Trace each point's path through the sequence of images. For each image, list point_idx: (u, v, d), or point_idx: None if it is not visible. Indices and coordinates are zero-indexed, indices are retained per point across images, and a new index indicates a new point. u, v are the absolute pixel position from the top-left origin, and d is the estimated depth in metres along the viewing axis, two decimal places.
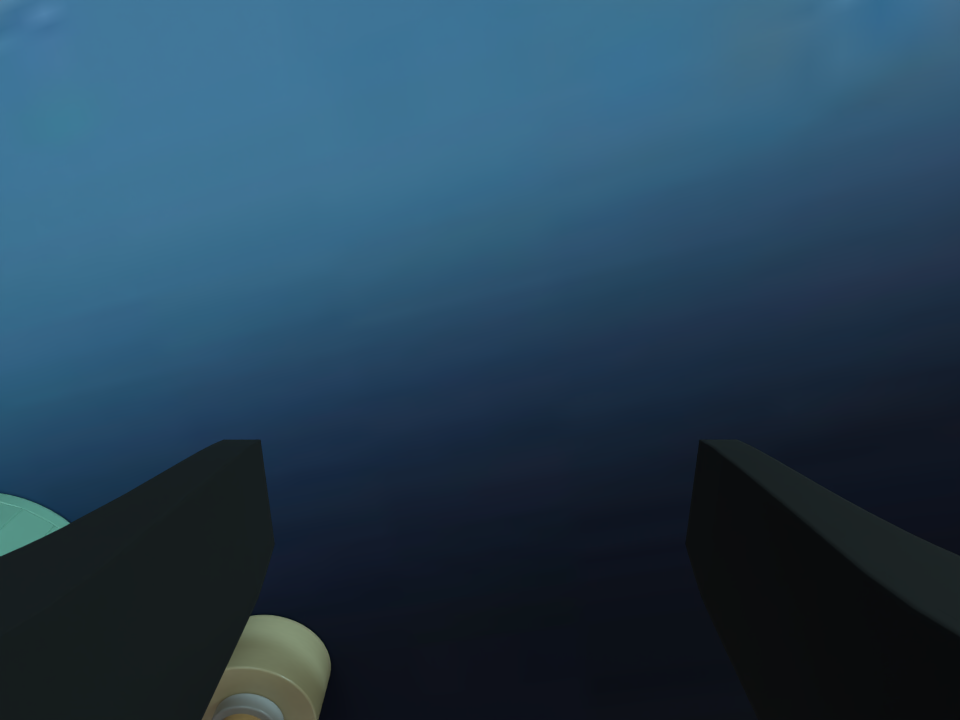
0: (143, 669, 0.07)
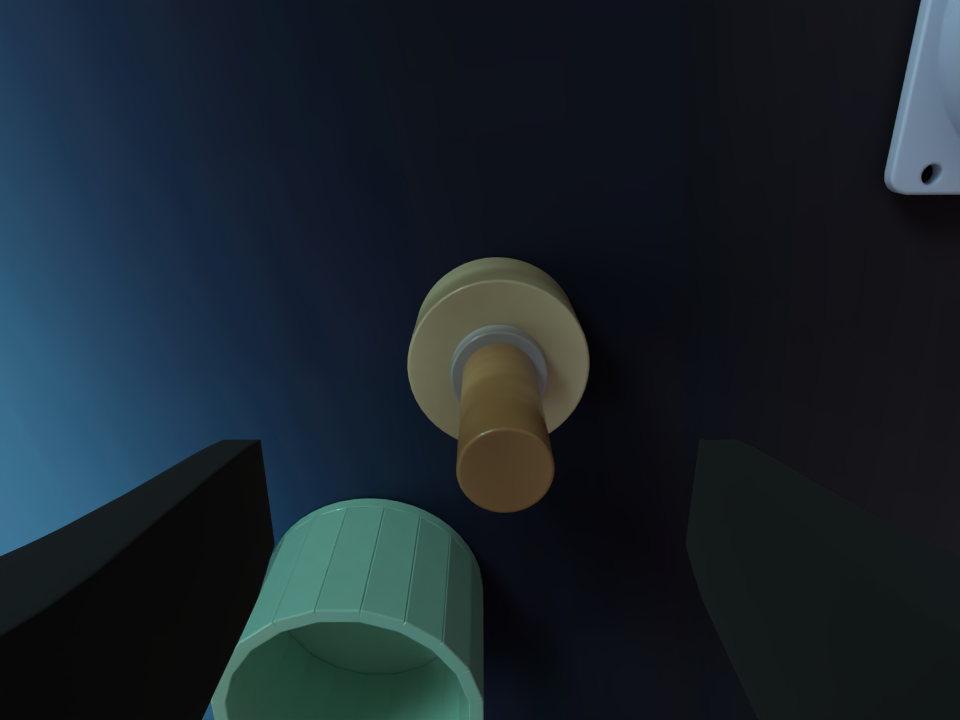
0: (143, 669, 0.07)
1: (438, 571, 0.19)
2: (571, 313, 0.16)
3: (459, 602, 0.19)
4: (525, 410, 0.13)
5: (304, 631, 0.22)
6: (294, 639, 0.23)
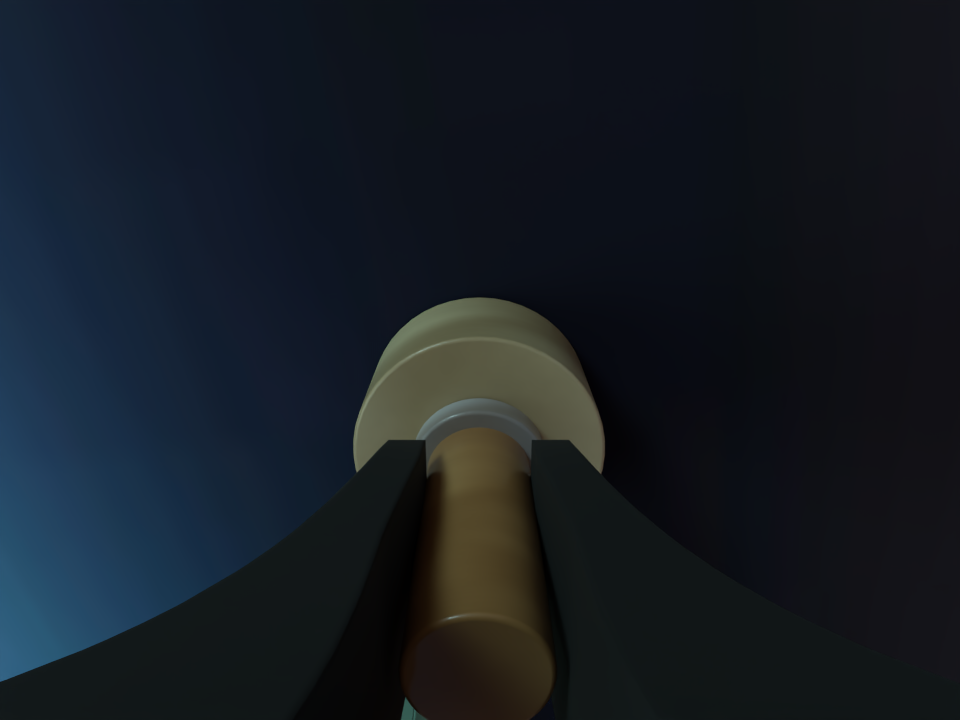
0: (382, 669, 0.07)
1: None
2: (580, 382, 0.12)
3: None
4: (511, 568, 0.08)
5: None
6: None
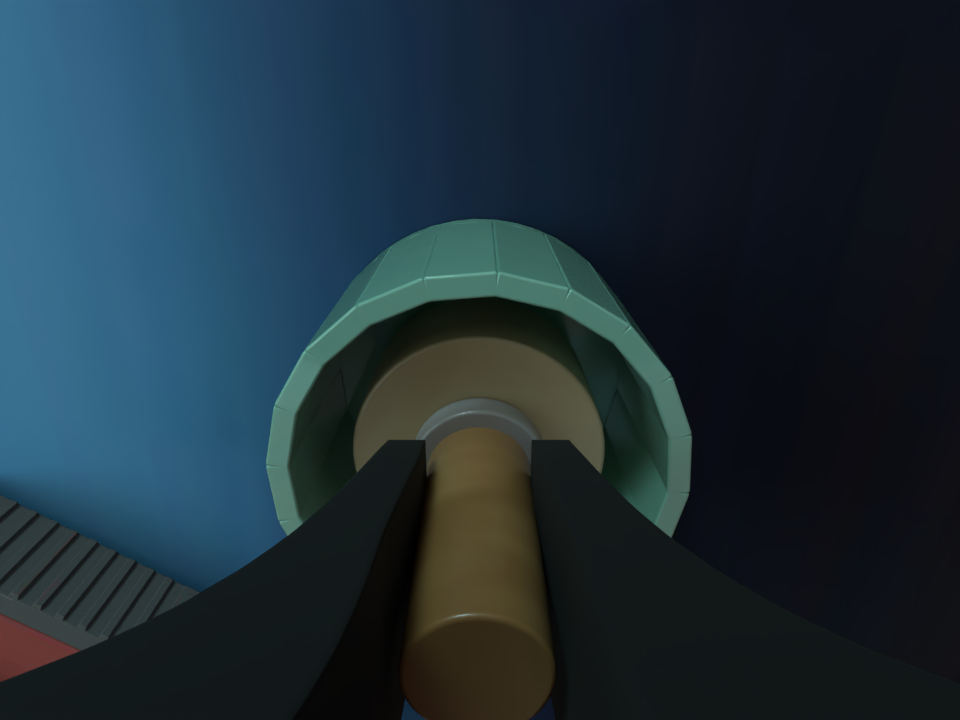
0: (382, 669, 0.07)
1: (629, 315, 0.13)
2: (580, 382, 0.12)
3: None
4: (511, 568, 0.08)
5: None
6: (350, 415, 0.16)
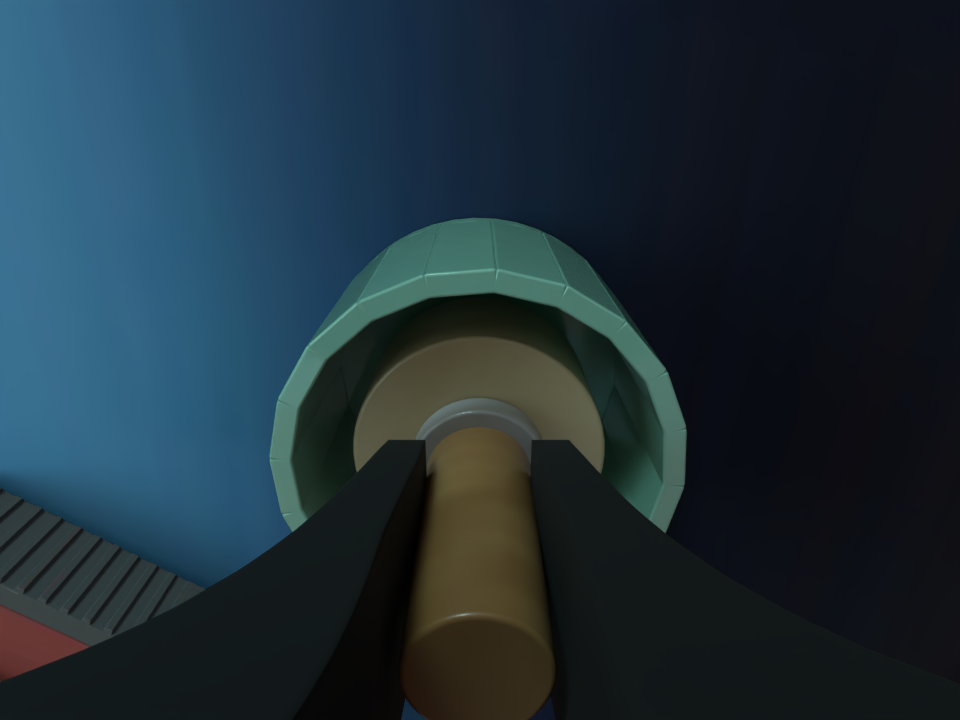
0: (382, 669, 0.07)
1: (625, 312, 0.13)
2: (580, 382, 0.12)
3: None
4: (510, 567, 0.08)
5: None
6: (351, 411, 0.16)
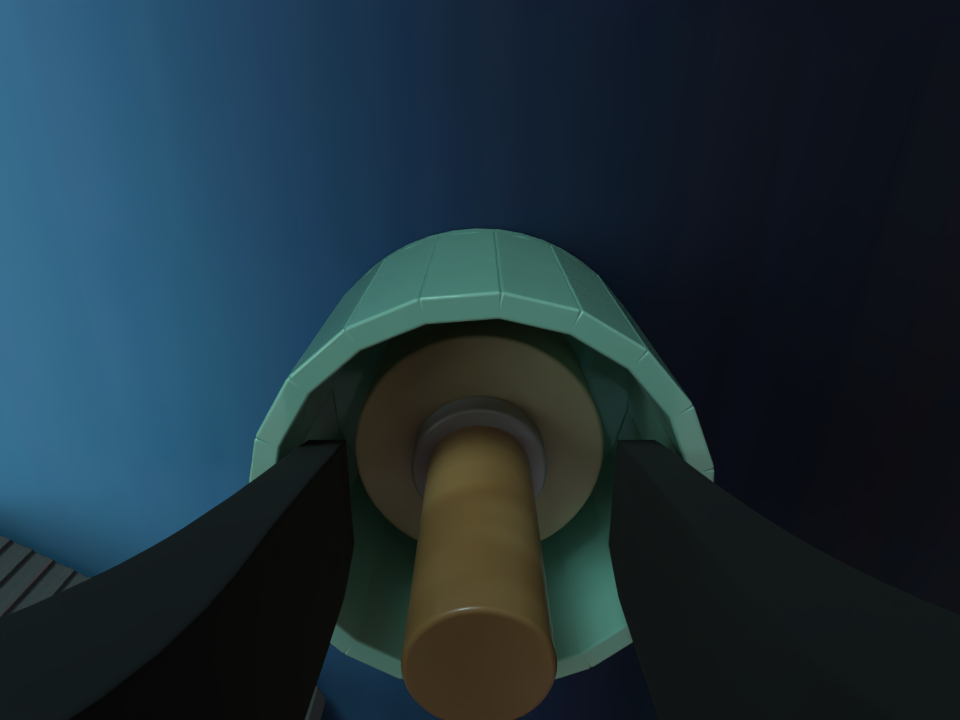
0: (267, 669, 0.07)
1: (643, 334, 0.12)
2: (579, 381, 0.12)
3: None
4: (511, 562, 0.08)
5: None
6: (343, 437, 0.15)
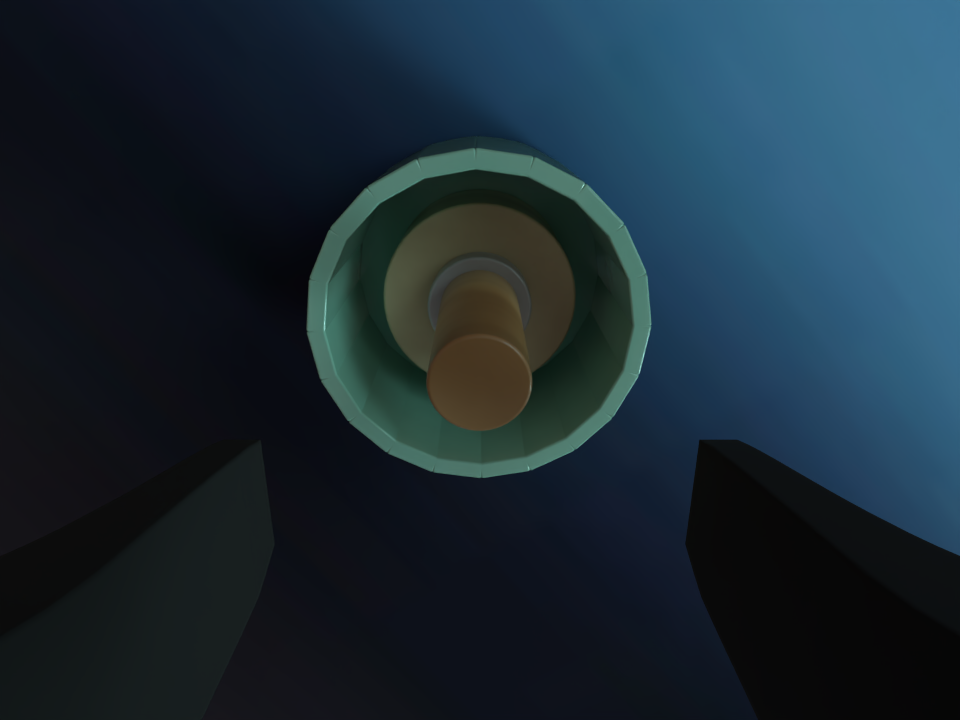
0: (143, 669, 0.07)
1: None
2: None
3: None
4: None
5: (536, 189, 0.17)
6: None
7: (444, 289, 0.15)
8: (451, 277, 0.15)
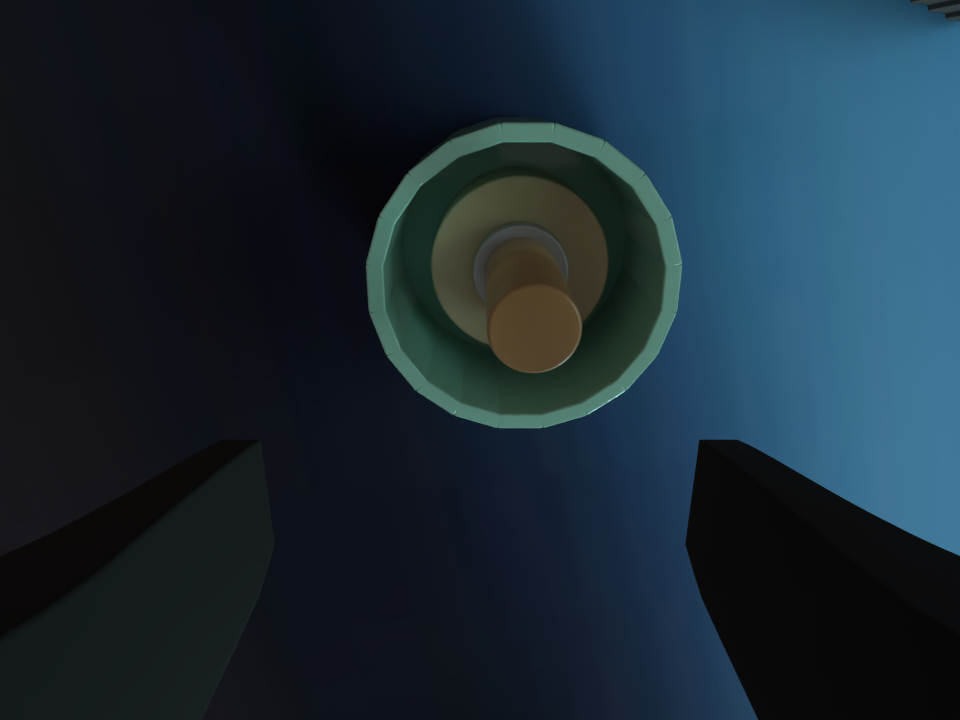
0: (143, 669, 0.07)
1: None
2: (466, 333, 0.18)
3: None
4: None
5: (599, 201, 0.19)
6: (613, 189, 0.19)
7: (502, 242, 0.16)
8: (513, 235, 0.16)
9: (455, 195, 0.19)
